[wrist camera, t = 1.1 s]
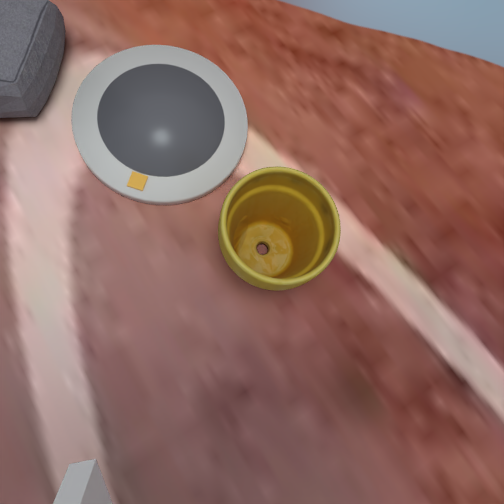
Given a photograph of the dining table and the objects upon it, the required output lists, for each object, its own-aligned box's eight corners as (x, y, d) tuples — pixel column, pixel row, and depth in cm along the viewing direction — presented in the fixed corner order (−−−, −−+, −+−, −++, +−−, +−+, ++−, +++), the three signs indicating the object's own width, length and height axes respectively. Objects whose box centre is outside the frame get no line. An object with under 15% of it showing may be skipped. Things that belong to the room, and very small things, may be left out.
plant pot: (192, 232, 45) (196, 198, 35) (276, 188, 47) (300, 146, 38) (244, 320, 43) (262, 308, 34) (327, 270, 46) (365, 246, 37)
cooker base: (46, 172, 44) (41, 164, 42) (111, 32, 49) (109, 20, 47) (218, 228, 45) (219, 222, 43) (264, 86, 50) (267, 76, 48)
